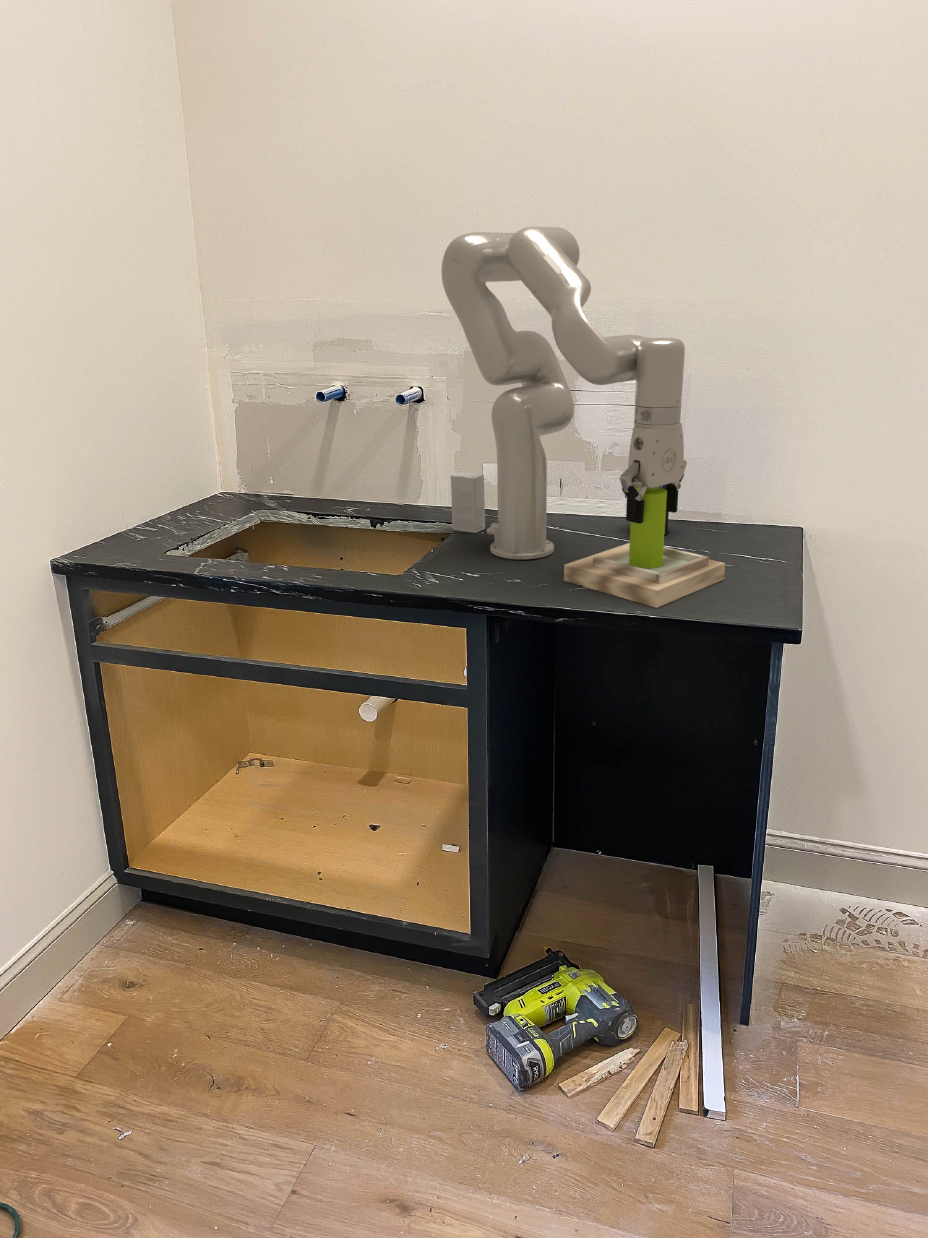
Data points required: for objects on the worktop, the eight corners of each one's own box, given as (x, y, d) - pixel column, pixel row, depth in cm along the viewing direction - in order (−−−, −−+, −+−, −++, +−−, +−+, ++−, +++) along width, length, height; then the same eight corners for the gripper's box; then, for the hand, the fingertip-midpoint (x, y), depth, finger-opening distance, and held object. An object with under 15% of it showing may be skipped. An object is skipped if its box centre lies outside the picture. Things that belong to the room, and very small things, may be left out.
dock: (563, 580, 161) (564, 556, 159) (632, 556, 173) (633, 533, 172) (656, 607, 147) (658, 581, 145) (723, 579, 160) (726, 555, 158)
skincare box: (485, 529, 194) (485, 474, 190) (475, 533, 191) (474, 478, 186) (462, 525, 197) (460, 471, 193) (451, 530, 194) (449, 475, 189)
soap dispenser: (668, 569, 155) (676, 453, 148) (628, 567, 157) (633, 452, 150) (668, 559, 161) (675, 447, 154) (629, 557, 162) (634, 446, 155)
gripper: (644, 424, 141) (638, 530, 147) (706, 412, 152) (699, 510, 158) (606, 420, 146) (602, 522, 152) (669, 408, 157) (663, 503, 163)
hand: (651, 516), depth 155 cm, fingers open, 9 cm apart
